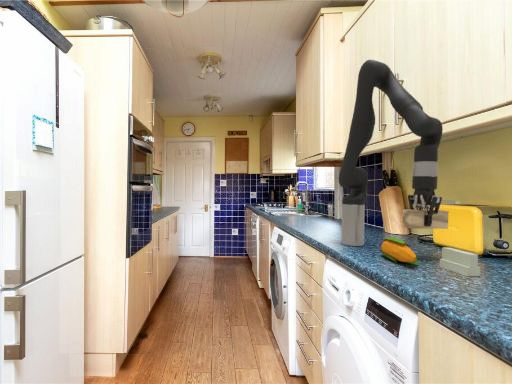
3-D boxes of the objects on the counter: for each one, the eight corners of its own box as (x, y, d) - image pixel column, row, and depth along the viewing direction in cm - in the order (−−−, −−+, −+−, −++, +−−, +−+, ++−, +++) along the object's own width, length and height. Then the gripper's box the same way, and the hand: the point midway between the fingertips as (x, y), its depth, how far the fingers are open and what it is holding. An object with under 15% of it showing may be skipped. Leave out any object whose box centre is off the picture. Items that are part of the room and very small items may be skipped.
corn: (396, 234, 108) (427, 244, 88) (397, 254, 108) (429, 269, 88) (375, 235, 108) (402, 245, 88) (376, 255, 108) (404, 271, 88)
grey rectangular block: (439, 266, 92) (439, 247, 92) (451, 266, 92) (451, 247, 92) (467, 276, 82) (467, 254, 82) (479, 276, 82) (480, 254, 82)
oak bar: (402, 226, 103) (403, 209, 103) (439, 226, 105) (439, 210, 105) (409, 228, 99) (410, 210, 99) (447, 228, 101) (448, 211, 101)
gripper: (401, 175, 108) (399, 222, 108) (430, 174, 94) (427, 228, 94) (420, 176, 109) (418, 222, 110) (451, 175, 95) (448, 228, 96)
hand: (422, 225), depth 102 cm, fingers closed on oak bar, 4 cm apart
